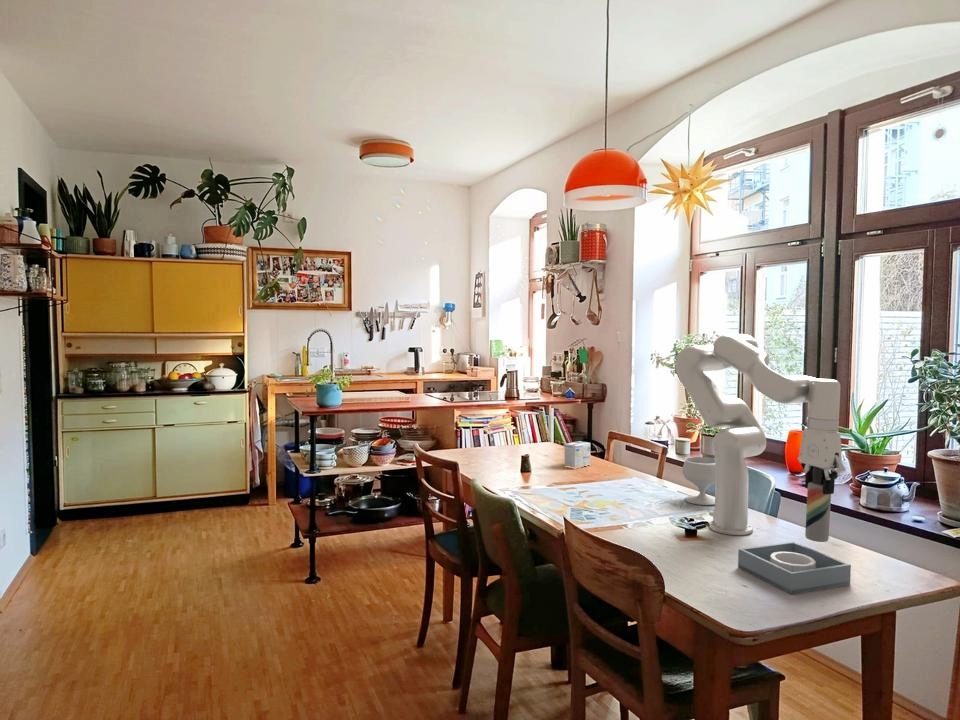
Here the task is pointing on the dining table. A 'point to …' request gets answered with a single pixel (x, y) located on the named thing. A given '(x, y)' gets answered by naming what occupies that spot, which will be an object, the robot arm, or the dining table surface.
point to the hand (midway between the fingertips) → (819, 490)
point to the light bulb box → (577, 454)
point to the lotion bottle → (817, 508)
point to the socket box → (794, 567)
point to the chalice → (700, 478)
